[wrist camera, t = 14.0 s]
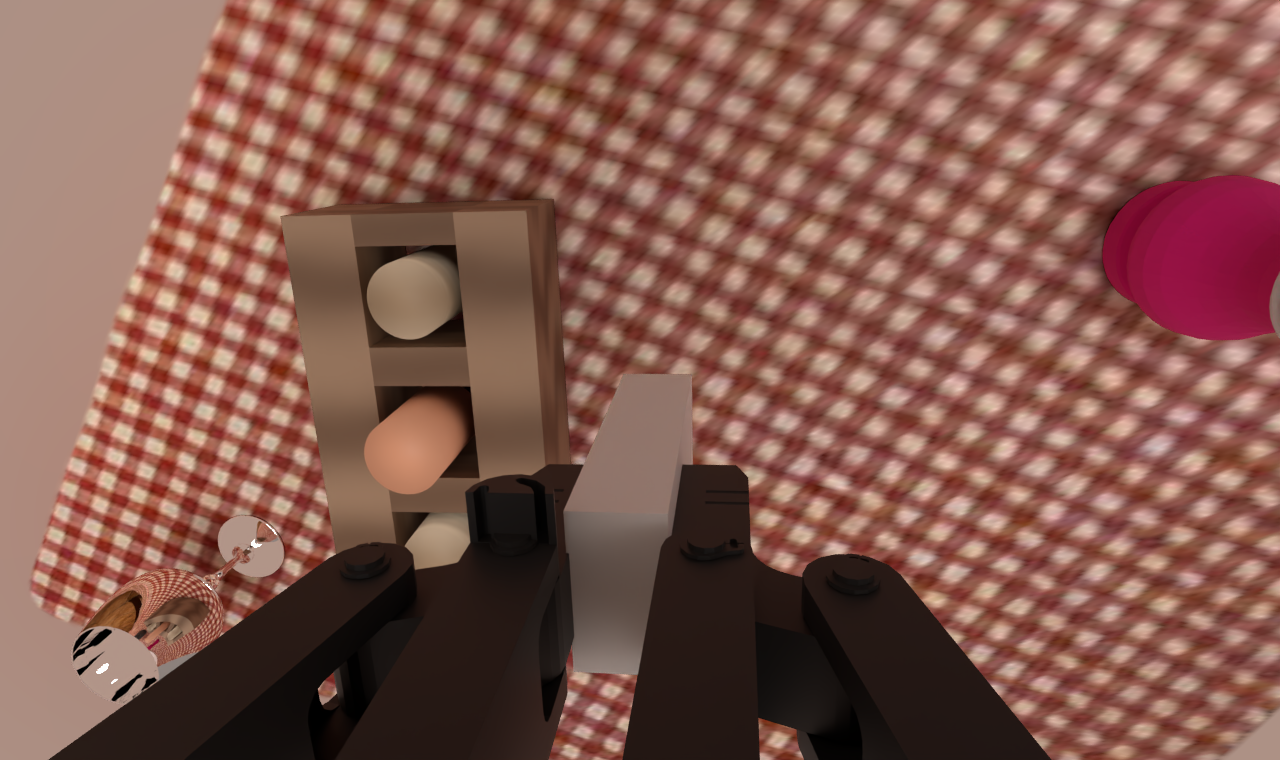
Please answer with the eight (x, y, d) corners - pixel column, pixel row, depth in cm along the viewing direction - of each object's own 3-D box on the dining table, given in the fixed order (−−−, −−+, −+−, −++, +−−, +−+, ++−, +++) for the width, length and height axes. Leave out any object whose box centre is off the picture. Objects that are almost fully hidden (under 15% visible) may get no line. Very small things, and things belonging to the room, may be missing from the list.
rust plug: (408, 380, 43) (359, 419, 37) (476, 380, 43) (437, 420, 37) (416, 446, 44) (369, 493, 39) (483, 447, 44) (446, 494, 38)
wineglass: (211, 495, 50) (59, 603, 39) (298, 518, 50) (171, 633, 39) (206, 572, 52) (60, 696, 41) (290, 595, 52) (167, 726, 41)
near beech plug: (410, 243, 43) (361, 261, 38) (478, 242, 43) (439, 260, 37) (418, 312, 45) (372, 339, 39) (484, 311, 44) (448, 339, 38)
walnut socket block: (338, 204, 44) (280, 216, 38) (553, 199, 43) (526, 210, 37) (389, 560, 50) (346, 615, 45) (577, 565, 49) (557, 623, 43)
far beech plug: (438, 480, 48) (398, 528, 42) (500, 481, 47) (469, 530, 41) (445, 537, 49) (407, 592, 43) (506, 539, 48) (475, 594, 43)
